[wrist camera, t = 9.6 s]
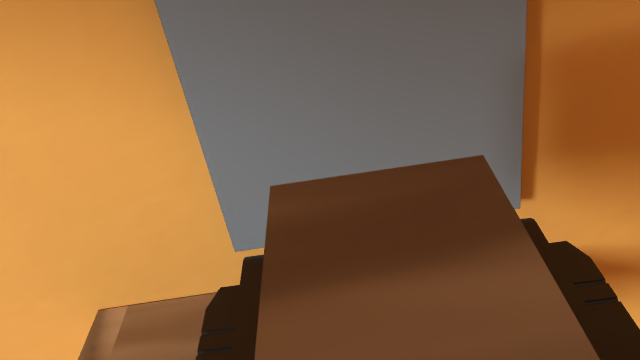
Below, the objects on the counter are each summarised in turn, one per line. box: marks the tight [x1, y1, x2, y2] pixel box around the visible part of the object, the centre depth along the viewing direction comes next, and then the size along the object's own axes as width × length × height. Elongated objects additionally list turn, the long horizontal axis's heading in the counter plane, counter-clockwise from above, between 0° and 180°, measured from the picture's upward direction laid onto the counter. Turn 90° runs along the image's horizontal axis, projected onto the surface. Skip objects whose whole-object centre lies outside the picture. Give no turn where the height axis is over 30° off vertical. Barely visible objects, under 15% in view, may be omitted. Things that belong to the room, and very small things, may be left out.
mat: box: [154, 0, 527, 252], centre depth 17 cm, size 10×10×1 cm
